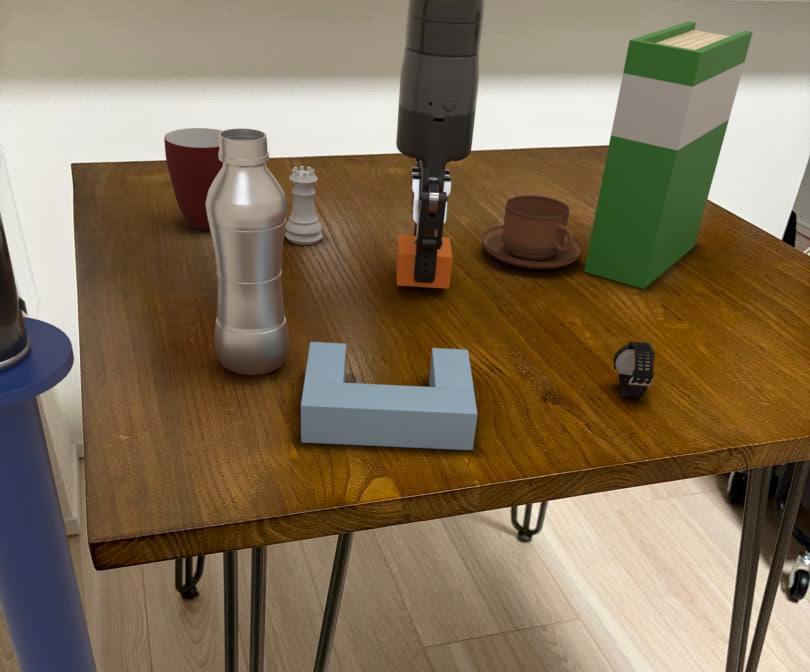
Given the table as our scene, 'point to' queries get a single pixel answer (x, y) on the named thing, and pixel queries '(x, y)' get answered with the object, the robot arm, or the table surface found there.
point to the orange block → (407, 263)
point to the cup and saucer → (533, 234)
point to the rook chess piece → (303, 209)
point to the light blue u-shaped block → (388, 404)
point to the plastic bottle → (248, 255)
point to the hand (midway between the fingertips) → (423, 269)
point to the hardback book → (663, 150)
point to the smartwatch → (634, 368)
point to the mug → (193, 170)
